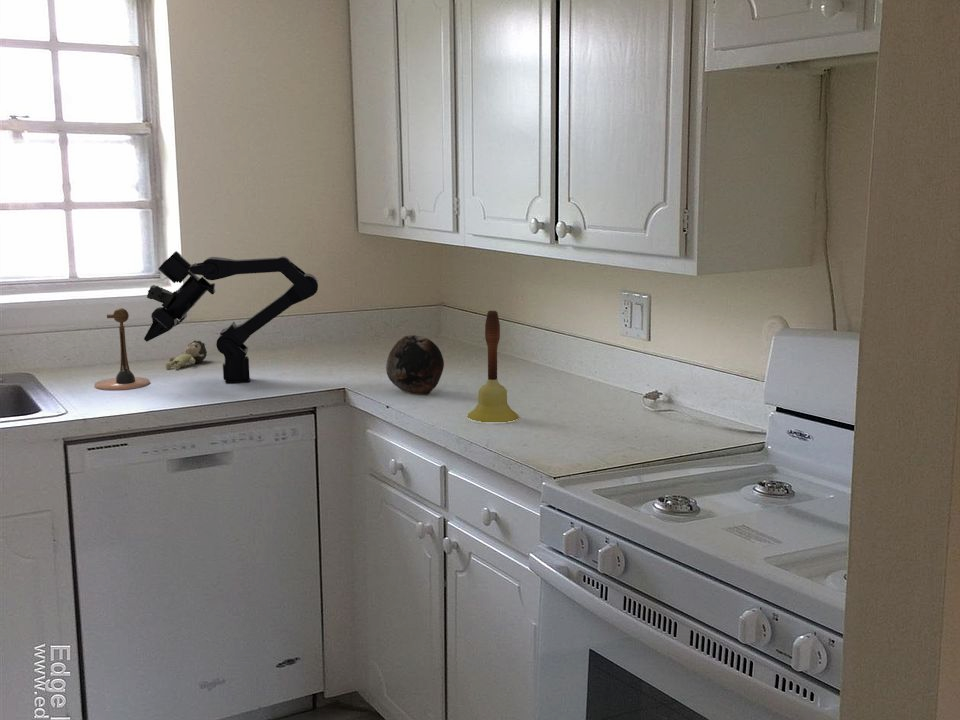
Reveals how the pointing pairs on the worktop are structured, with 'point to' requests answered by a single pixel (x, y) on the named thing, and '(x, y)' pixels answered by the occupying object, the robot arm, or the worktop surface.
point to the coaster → (112, 385)
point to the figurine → (189, 355)
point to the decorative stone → (415, 364)
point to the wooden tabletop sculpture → (122, 348)
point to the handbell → (492, 381)
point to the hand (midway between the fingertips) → (149, 337)
